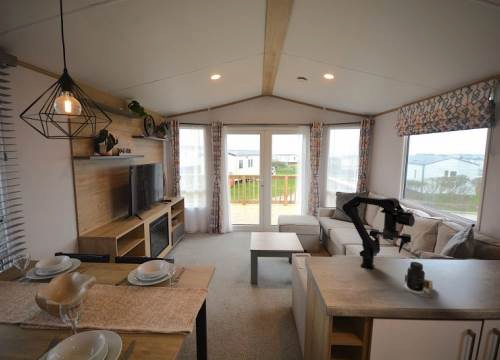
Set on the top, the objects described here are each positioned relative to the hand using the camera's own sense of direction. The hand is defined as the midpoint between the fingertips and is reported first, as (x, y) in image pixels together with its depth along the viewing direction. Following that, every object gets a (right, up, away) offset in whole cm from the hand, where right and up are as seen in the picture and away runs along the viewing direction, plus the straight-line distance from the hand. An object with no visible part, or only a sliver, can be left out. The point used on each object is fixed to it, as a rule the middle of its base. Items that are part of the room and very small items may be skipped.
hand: (388, 251), depth 128 cm
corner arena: (+6, -14, -13) cm, 20 cm away
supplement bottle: (+5, -14, -13) cm, 20 cm away
